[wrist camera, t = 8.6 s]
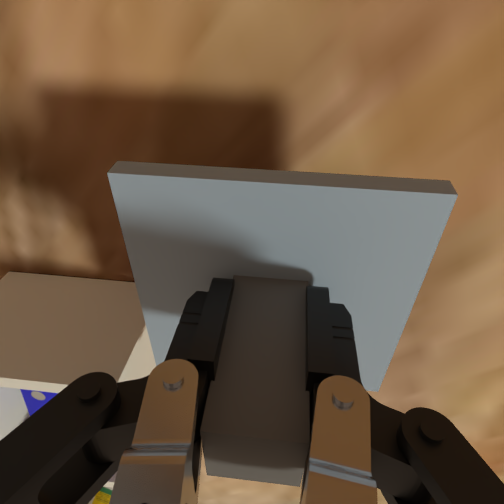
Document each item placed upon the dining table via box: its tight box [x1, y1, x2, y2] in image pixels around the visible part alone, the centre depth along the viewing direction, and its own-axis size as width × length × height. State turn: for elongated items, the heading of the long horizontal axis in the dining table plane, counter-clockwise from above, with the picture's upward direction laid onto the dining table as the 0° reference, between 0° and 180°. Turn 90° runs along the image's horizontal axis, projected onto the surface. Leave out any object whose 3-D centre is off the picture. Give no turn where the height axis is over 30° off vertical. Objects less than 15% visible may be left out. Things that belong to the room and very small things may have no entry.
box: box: [0, 271, 156, 488], centre depth 22 cm, size 9×9×7 cm
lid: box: [107, 161, 458, 487], centre depth 12 cm, size 10×10×6 cm
